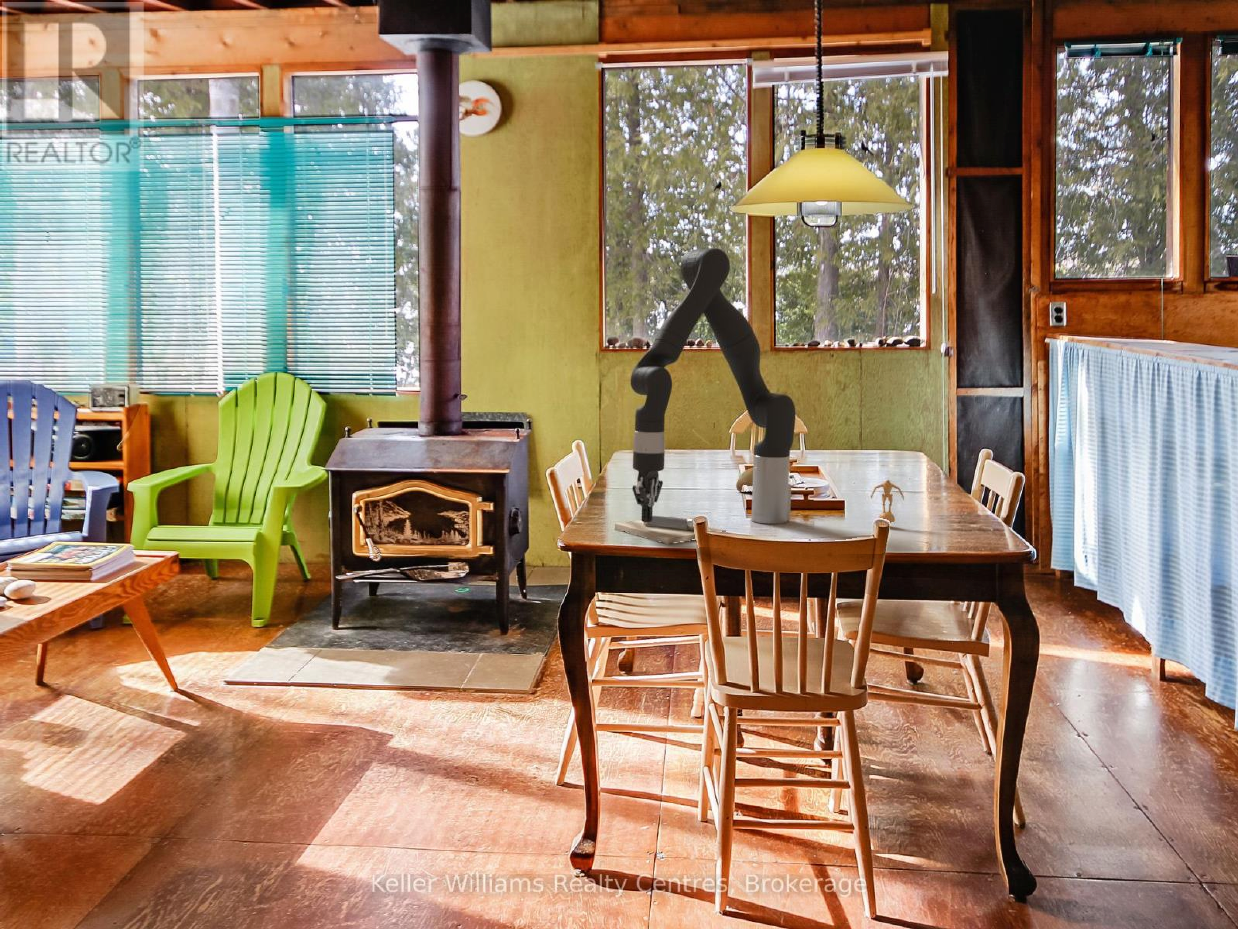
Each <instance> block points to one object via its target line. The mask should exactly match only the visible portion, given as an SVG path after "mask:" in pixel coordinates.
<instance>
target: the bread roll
mask: <svg viewBox="0 0 1238 929" xmlns="http://www.w3.org/2000/svg"><path fill="white" fill-rule="evenodd" d="M743 485H747V486H753V467H749V468H748V469H746V470H745V471H743V472H742V473H741V475H740V476H739V477H738V479H737V481H736V484H735V488H736V490H737V491H738V492H739V491H741V490H742V486H743Z"/></svg>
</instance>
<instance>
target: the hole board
mask: <svg viewBox="0 0 1238 929" xmlns="http://www.w3.org/2000/svg"><path fill="white" fill-rule="evenodd" d="M670 517H673V518H677V516H676V517H675V516H671V515H670ZM708 529H709V530H710V531H722V532H726V533H727V530H726V529H722V528H719V527H716V526H711V525H708ZM614 530H617V531H618V532H619V531H620V532H622V531H625V532H624V533H626V532H627V534H629V533H630V534H629V535H633V534H636V535H639V536H638V537H640V536H641V538H643V537H647V538H649V539H648V540H650V539H652V540H651V541H654V540H655V541H654V542H657V541H661V542H663V543H662V544H664V543H666V544H665V545H670V544H669V543H674V542H680V541H689V540H692V539H695V534H694V530H687V529H680V528H670V527H660V526H650V525H643V522H642V520H641V519H640V520H633V521H623V522H615V523H614ZM636 535H635V536H636ZM647 538H646V539H647ZM661 542H660V543H661ZM689 542H690V541H689ZM674 544H675V543H674Z"/></svg>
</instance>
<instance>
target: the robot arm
mask: <svg viewBox="0 0 1238 929" xmlns="http://www.w3.org/2000/svg"><path fill="white" fill-rule="evenodd" d="M730 269H731V262H730V258H729V256H728V254H727V253H726V252H725V251H724V250H722V249H720V248H714V247H708V248H698V249H693V250H689V251H687V252H686V253H684V255H683V256H682V258H681V261H680V272H681V277H682V279H683V282H684V283H685V285H686V286H687V288H688V290H689V291H688V293H687V294H686V296H685V297H684V298H683V300H682V301H681V302H680V303H679V304H678V305H677V306H676V307H675V308H674V310H672V311H671V313H669V315H668V316H667V317H666V319H665V320H664V322H662V325H661V327H660V329H659V330H658V332H657V334H656V336H655V338H654V340H653V343H652V345H651V347H649V348H648V350H647V351H646V352H645V353H644V355H642V357H641V359H640V360H639V361H638V362H637V364H635V366H634V368H633V369H632V372H631V376H630V380H629V381H630V387H631V389H632V391H633V392H635V393H636V394H638V395H641V396H646V397H645V402H644V404H643V405H641V406H638V407H637V408H636V410H635V415H634V419H635V420H634V435H633V443H632V444H633V446H632V447H633V448H632V468H633V470H635V471H637V472H638V474H637V478H636V480H637V481H636V482H637V484H636V485H632V488H631V489H632V492H633V495H634V497H635V501H636V503H637V505H640V507H641V519H640V520H642V522H651V521H652V516H653V512H654V511H653V509H654V508H653V507H654V506H655V503H657V502H658V500H659V498H660V494H661V490H662V488H663V484H664V482H663V480H660V479H659V476H660V475H659V472H660V471H663V470H664V469H665V456H666V455H665V454H666V453H665V452H666V450H665V449H666V440H665V438H666V437H665V421H666V419H665V415H666V411H667V408H668V405H669V402H670V401H669V400H670V399H671V394H672V391H673V380H672V376H671V374H670V372H669V370H668V369H666V367H668V366H669V365H673V364H674V363H676V362H677V361H678V360H679V358H680V356H681V354H682V352H683V350H684V348H685V345H686V343H687V341H688V339H689V337H690V336H691V334H692V331H693V330H694V328H695V327H696V325H697V323H698V322H699V320H700V319H701V316H702V315H704V316H705V319H706V322H707V323H708V325H709V327H710V329H711V331H712V333H713V335H714V338H715V340H716V342H717V344H718V346H719V348H720V351H721V353H722V355H723V356H724V358H725V360H726V362H727V364H728V366H729V368H730V371H731V372H732V375H733V377H734V379H735V381H736V383H737V386H738V388H739V391H740V394H741V397H742V399H743V402H744V405H745V407H746V412H747V413H748V416H749V418H750V420H751V421H752V423H753V424H754V425H756V426H757V427H760V428H762V429H765V431H764V437H763V439H762V440H761V441H759V442H756V443H755V444H754V447H753V462H752V463H753V465H752V466H753V467H752V468H753V491H752V492H751V493H752V494H751V495H752V498H751V499H752V500H751V521H752V522H755V523H760V524H761V523H762V524H769V525H770V524H774V525H775V524H776V525H777V524H785V523H787V522H788V521H787V520H790V521H791V501H792V485H791V484H790V483H789V478H790V457H791V456H790V454H791V452H790V451H791V448H792V446H793V443H794V439H795V426H796V414H797V413H796V406H795V402H794V401H793V399H792V397H791V396H789V395H787V394H783V393H777V392H775V393H774V392H771V391H770V390H769V388H768V387H767V385H766V383H765V381H764V378H763V376H762V374H761V366H760V365H761V364H760V363H761V346H760V343H759V341H758V339H757V336H756V334H755V332H754V329H753V327H752V326H751V324H750V322H749V321H748V319H747V318H746V317H745V316H744V315H743V314H742V313H741V312H740V311H739V310H738V309H737V308H736V307H735V306H734V305H733V304H732V303H731V302H730V301H729V300H728V298H726V296H725V295H724V294H723V292H722V290H721V288H722V286H723V285H724V284H725V282H726V280H727V279H728V276H729V273H730ZM786 521H787V522H786ZM784 522H785V523H784Z"/></svg>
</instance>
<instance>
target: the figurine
mask: <svg viewBox="0 0 1238 929" xmlns="http://www.w3.org/2000/svg"><path fill="white" fill-rule="evenodd" d="M880 488H882V489H883V492H884V493H882V494H881V501H882V512H881V514H879V516H878V519H879V518H883V519H887V520H889V521H890V523H891V522H894V521H896V520H895V519H896V518H895V515H894V514H893V513H892V509H891V507H892V505H893V504H892V503H893V497H894V496H893V493H891V491H892V488H893V489H896V490H898V491H899V493H900V495H901V498H902V501H904V500H905V497H904V495H903V492H902V491H901V488H900V487H899V486H897V485H895V484H894V483H892V482H891V480H889V479H886V480H885V481H884V482H883V483H880V484H879V485H876V486H875V487H874V489H873V491H872V492H871V495H870V499H873V497H874V494H875V492H876V490H877V489H880ZM887 499H888V501H889V504H888V511H886V501H887ZM894 523H895V522H894Z"/></svg>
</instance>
